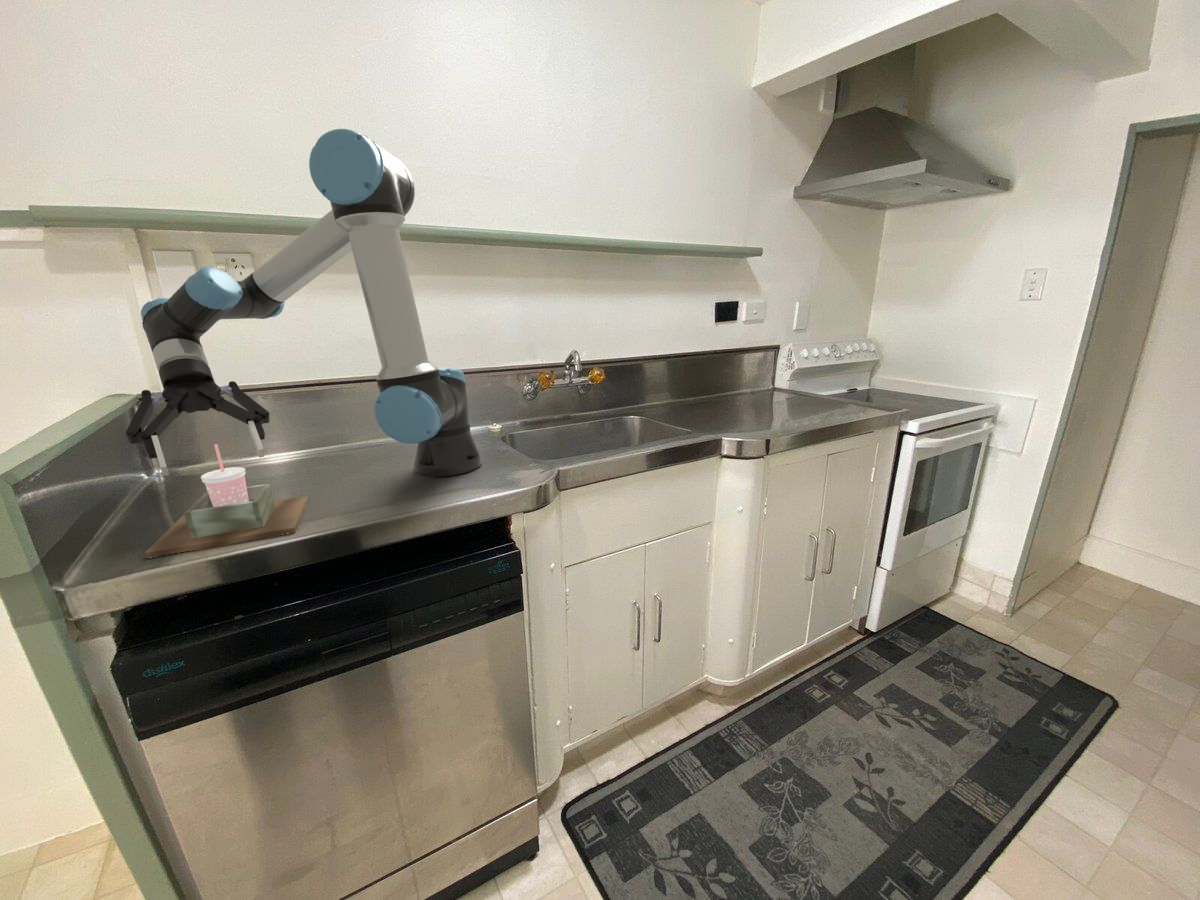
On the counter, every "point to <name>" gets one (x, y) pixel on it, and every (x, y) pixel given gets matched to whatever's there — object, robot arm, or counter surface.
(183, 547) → the cup holder
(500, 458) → the counter surface
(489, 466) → the counter surface
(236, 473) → the beverage cup
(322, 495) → the counter surface
